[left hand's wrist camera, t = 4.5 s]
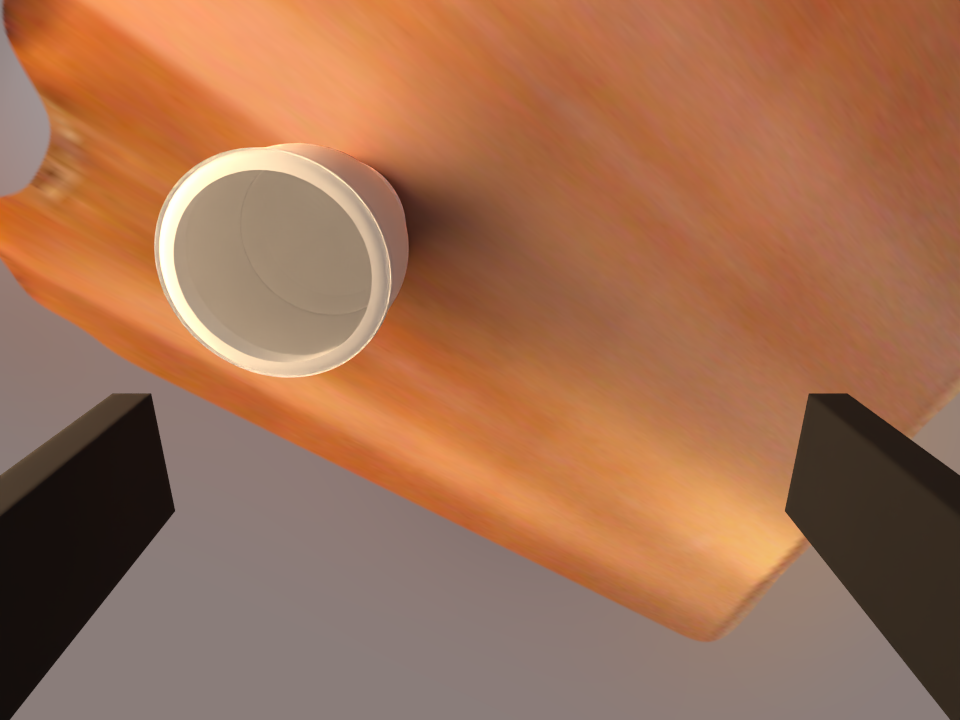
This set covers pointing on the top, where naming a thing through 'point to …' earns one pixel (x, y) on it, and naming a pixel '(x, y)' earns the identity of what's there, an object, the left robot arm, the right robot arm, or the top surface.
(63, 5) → the top surface
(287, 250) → the jar
